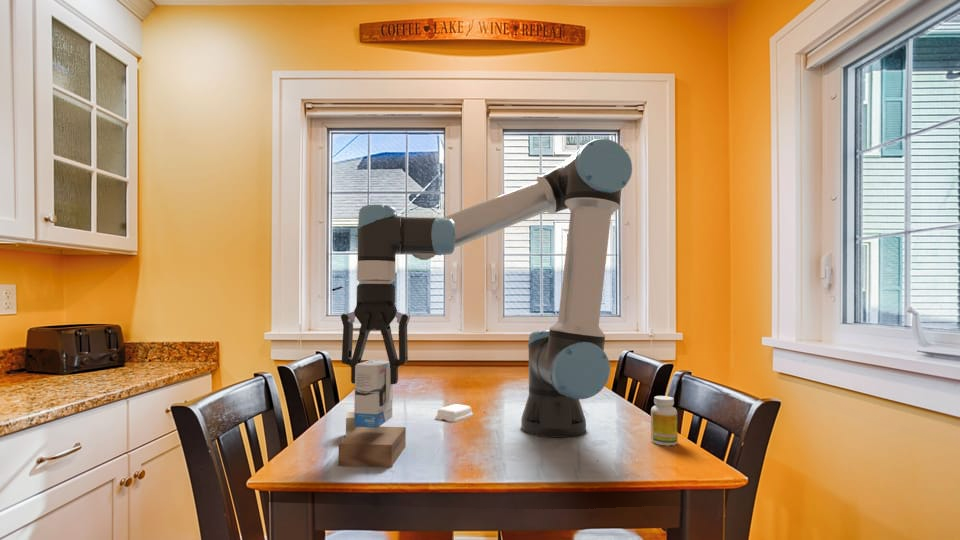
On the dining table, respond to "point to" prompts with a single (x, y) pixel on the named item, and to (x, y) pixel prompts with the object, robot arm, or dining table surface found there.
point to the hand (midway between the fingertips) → (374, 400)
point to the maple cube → (350, 423)
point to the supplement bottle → (664, 421)
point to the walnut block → (372, 446)
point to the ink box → (371, 394)
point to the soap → (454, 413)
